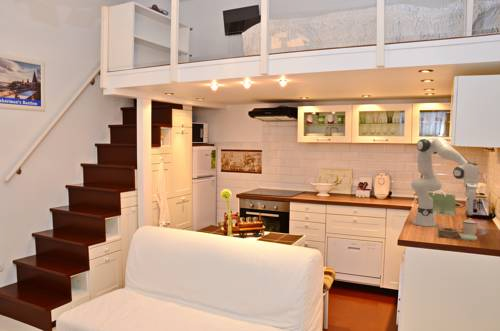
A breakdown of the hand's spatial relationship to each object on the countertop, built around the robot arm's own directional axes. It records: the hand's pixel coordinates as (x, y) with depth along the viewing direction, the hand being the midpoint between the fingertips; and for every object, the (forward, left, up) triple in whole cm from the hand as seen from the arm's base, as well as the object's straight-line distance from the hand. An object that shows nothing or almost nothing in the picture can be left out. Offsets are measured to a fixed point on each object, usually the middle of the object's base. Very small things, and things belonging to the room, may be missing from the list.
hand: (469, 204), depth 276 cm
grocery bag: (-100, -13, -25) cm, 104 cm away
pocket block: (0, -13, -25) cm, 28 cm away
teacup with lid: (-18, +2, -25) cm, 31 cm away
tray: (0, 0, -25) cm, 25 cm away
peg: (0, 0, -8) cm, 8 cm away
